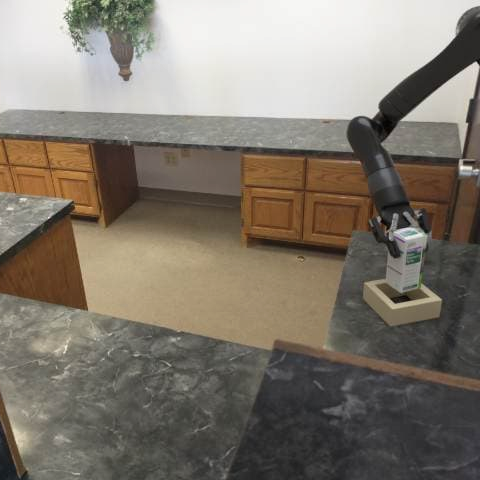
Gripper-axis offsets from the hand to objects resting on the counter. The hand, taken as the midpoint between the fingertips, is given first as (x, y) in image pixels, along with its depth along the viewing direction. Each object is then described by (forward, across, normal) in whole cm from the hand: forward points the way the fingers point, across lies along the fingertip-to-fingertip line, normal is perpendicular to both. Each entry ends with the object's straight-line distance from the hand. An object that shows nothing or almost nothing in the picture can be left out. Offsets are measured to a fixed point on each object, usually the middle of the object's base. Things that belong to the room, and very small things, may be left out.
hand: (410, 254), depth 118 cm
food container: (-4, +17, +27) cm, 32 cm away
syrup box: (+6, 0, +8) cm, 10 cm away
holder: (+10, 0, +12) cm, 16 cm away
